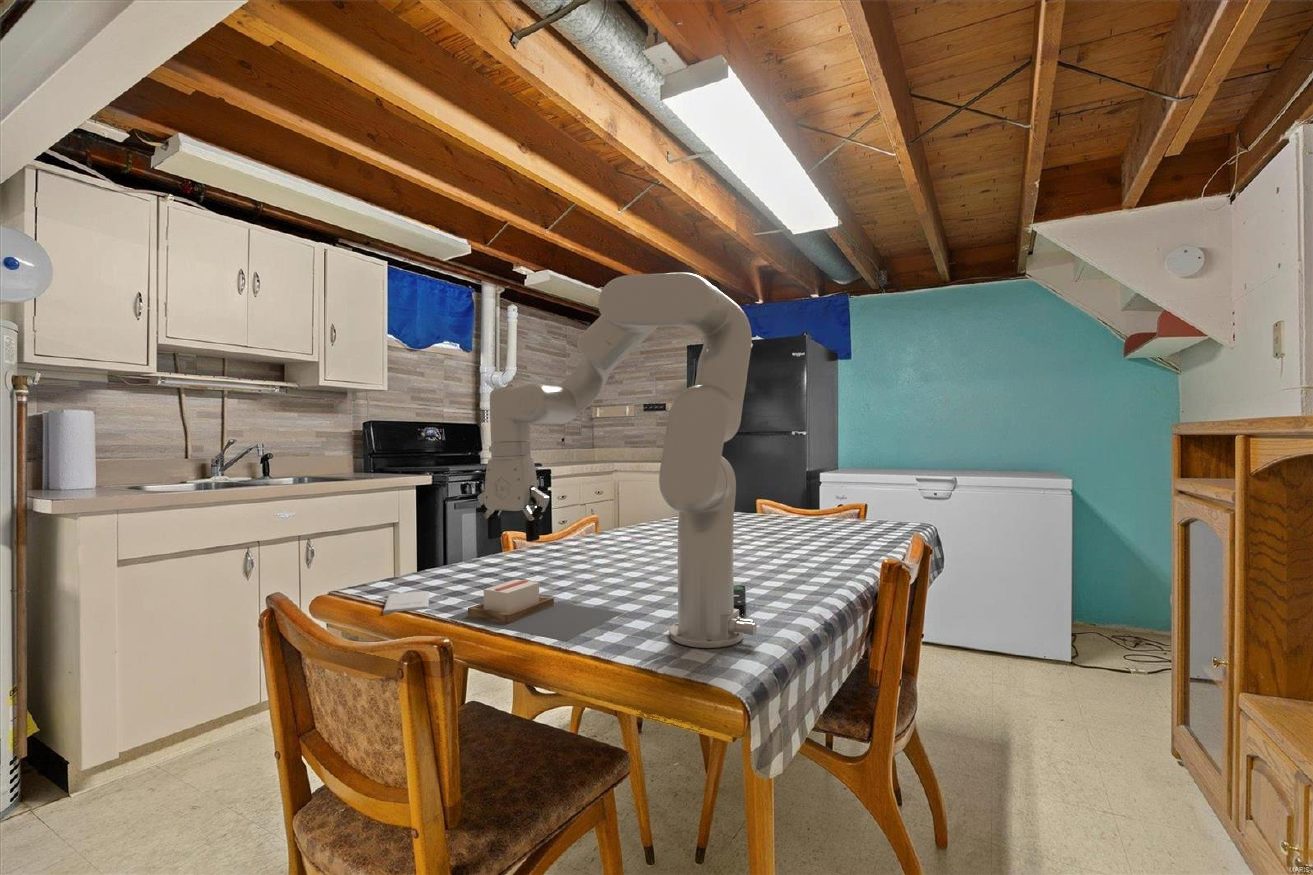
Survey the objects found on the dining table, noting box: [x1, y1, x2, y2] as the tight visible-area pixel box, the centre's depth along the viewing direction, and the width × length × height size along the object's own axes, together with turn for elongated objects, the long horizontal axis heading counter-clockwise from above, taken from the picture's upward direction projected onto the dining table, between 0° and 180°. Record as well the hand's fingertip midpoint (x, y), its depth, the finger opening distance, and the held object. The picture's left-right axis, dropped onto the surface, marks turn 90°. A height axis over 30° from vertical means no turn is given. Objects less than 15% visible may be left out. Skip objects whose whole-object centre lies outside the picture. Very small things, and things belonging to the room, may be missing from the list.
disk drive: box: [734, 584, 747, 616], centre depth 124 cm, size 10×3×15 cm
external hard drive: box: [382, 590, 430, 616], centre depth 125 cm, size 2×8×12 cm
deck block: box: [483, 579, 540, 613], centre depth 118 cm, size 9×6×5 cm, turn 151°
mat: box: [447, 601, 624, 642], centre depth 115 cm, size 28×18×1 cm, turn 61°
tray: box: [467, 595, 555, 624], centre depth 118 cm, size 10×13×2 cm
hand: (513, 539), depth 118 cm, fingers open, 9 cm apart
